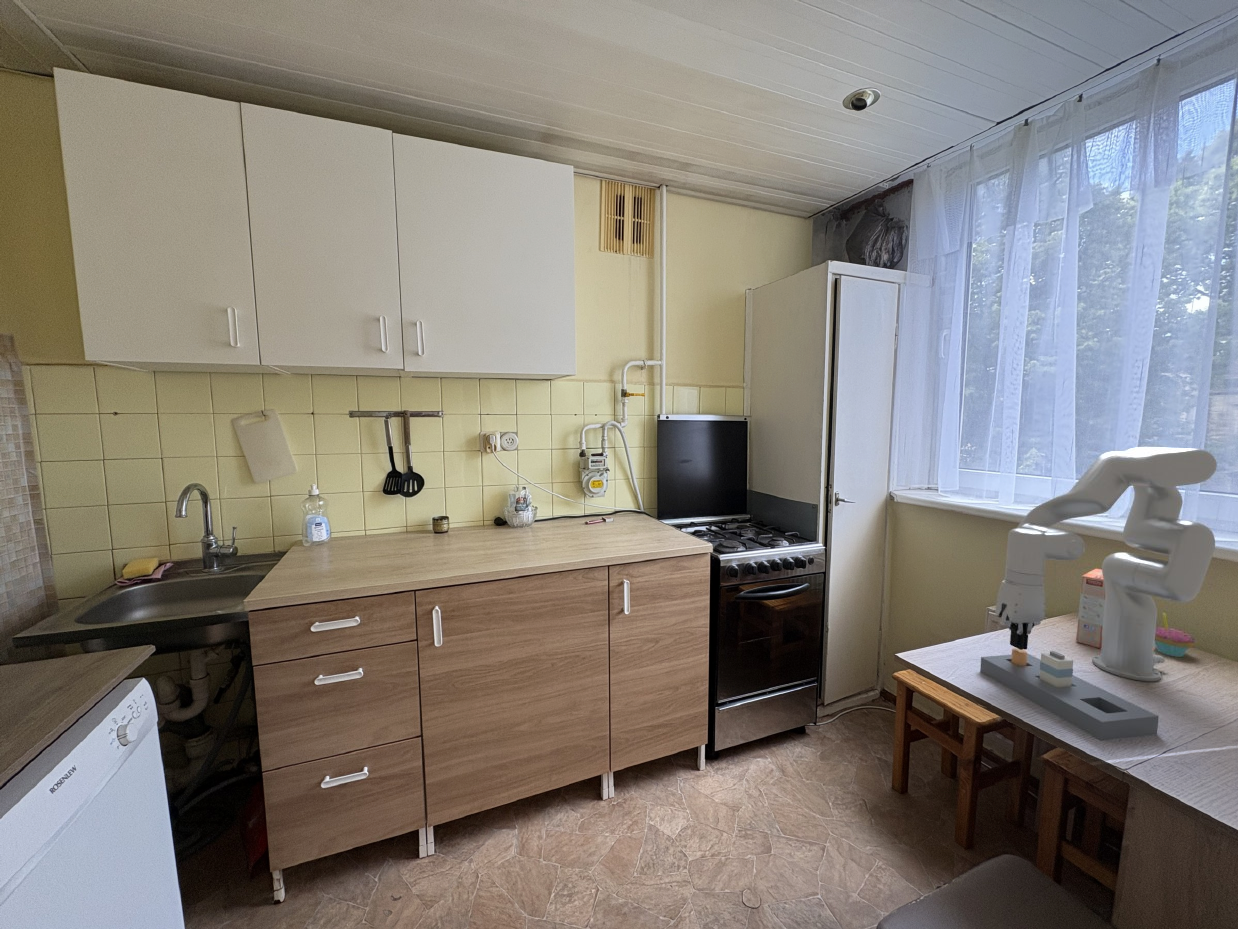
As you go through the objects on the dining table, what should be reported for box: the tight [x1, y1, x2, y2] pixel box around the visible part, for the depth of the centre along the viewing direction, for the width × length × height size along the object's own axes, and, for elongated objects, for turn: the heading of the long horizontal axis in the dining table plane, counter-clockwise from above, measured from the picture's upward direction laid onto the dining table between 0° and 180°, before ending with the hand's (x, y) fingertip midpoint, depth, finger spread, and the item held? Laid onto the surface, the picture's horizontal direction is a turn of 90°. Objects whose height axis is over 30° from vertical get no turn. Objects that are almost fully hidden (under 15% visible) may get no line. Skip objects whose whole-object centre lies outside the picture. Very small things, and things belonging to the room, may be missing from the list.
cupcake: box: [1154, 610, 1196, 658], centre depth 136 cm, size 9×8×12 cm
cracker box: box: [1075, 568, 1105, 650], centre depth 144 cm, size 14×6×21 cm, turn 123°
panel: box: [979, 652, 1160, 741], centre depth 113 cm, size 14×28×4 cm, turn 8°
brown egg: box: [1011, 648, 1028, 667], centre depth 122 cm, size 3×3×6 cm
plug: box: [1040, 650, 1074, 688], centre depth 113 cm, size 4×4×11 cm
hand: (1018, 647), depth 122 cm, fingers closed
